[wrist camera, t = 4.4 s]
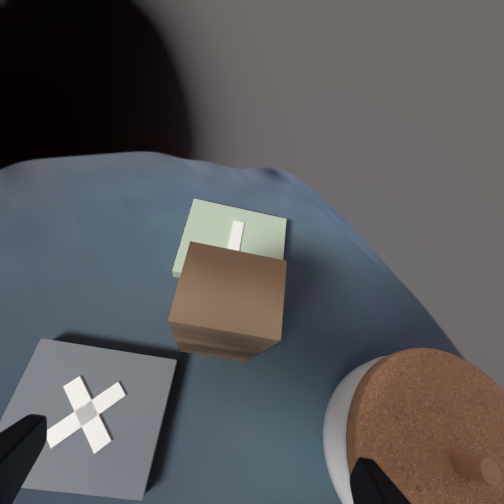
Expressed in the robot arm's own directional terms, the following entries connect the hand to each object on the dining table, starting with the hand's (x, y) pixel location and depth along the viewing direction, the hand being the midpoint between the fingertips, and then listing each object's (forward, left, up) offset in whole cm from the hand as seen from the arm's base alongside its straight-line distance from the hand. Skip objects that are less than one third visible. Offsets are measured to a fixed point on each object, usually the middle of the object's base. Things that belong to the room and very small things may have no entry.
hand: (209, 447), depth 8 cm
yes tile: (+11, +8, -12) cm, 18 cm away
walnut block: (+5, +3, -12) cm, 14 cm away
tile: (-5, +5, -12) cm, 14 cm away
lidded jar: (+7, -10, -13) cm, 18 cm away
